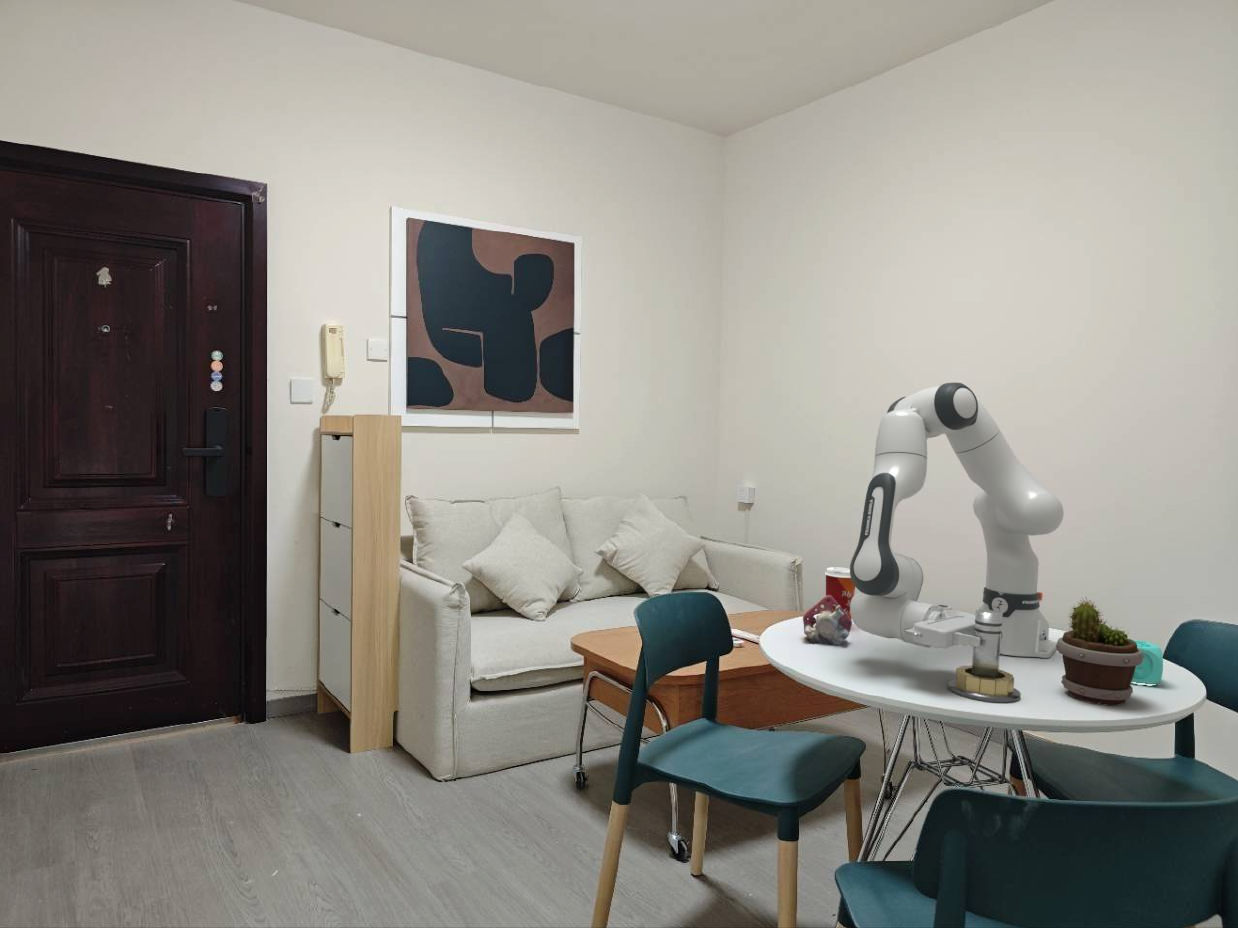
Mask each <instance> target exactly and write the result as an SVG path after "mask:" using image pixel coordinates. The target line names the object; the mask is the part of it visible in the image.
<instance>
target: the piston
mask: <svg viewBox="0 0 1238 928" xmlns="http://www.w3.org/2000/svg"><path fill="white" fill-rule="evenodd" d="M978 609H979V608H978ZM974 615H975V627H974V635H975V636H980V637H982V639H983V641H982V645H981V646H978V647H975V646H972V647H973V648H972V662H971V666H972V674H971V675H974V676H978V677H983V678H991V679H998V673H999V670H1000V657H1001V656H1000V655H1001V654H1000V644H1001V633H1002V616H1003V613H1001V612H998V611H993V610H983V609H979V610H977V609H975V614H974Z"/></svg>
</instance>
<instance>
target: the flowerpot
mask: <svg viewBox="0 0 1238 928" xmlns="http://www.w3.org/2000/svg"><path fill="white" fill-rule="evenodd" d="M1085 599H1086V600H1085ZM1085 599H1084V598H1083V597H1081V600H1080V601H1078V605H1077V606H1076V604H1074V606H1071V605H1070V606H1069V607H1070V608H1072V609H1070V610H1069V612H1070V613H1069V612H1068V616H1067V618H1068V620H1069V622H1068V624H1067V626H1069V628H1068V631H1065V632H1063V635H1062V637H1060V638H1058V639H1057V641H1056V643H1057V644H1056V647H1057V650H1056V651H1058V653H1060V654H1061V655H1062V660H1063V666H1064V672H1065V674H1063V675H1062V676H1061V679H1062V680H1061V681H1060V683H1061V684H1062V685H1063V687H1064V689H1066V690H1067V693H1068V695H1070V696H1071V697H1073V698H1075V699H1078V700H1080V701H1083V702H1088V703H1092V704H1100V705H1103V704H1107V705H1106V706H1114V705H1115V704H1120V705H1122V704H1125V703H1126V700H1128V699H1129V698H1131V695H1132V694H1133V693H1134V691H1133V685H1132V684H1131V681H1132V679H1133V676H1134V672H1135V668H1136V666H1137V665H1140V664H1141V663H1142V662H1143V658H1144V655H1143V652H1142V651H1141V650H1140V649H1139V648H1137V644H1136V642H1134V641H1133V640H1134V639H1132V640H1131V638H1129V637H1128V635H1129V633H1126V632H1127V631H1128V632H1129V630H1127V629H1126V630H1120V629H1121V628H1123V626H1121V627H1117V626H1116V625H1111V626H1110V627H1109V625H1107V623H1109V622H1107V620H1105V621H1103V617H1104V614H1102V613H1103V611H1104V610H1103V611H1101V612H1100V608H1098V606H1097V605H1095V602H1096V601H1093V602H1092V599H1091V600H1088V598H1087V597H1085ZM1096 608H1098V609H1096ZM1114 626H1115V627H1114ZM1112 627H1114V629H1113V628H1112ZM1124 702H1125V703H1124ZM1113 704H1114V705H1113Z"/></svg>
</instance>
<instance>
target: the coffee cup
mask: <svg viewBox="0 0 1238 928" xmlns="http://www.w3.org/2000/svg"><path fill="white" fill-rule="evenodd" d="M824 575H825V596H827V595H830V596H832V597H833V598H834V600H835V601H836V602H837V603H838V604H839V605H840V607H841V608H842V609H843V610H844V612H845V613H846V614H847V615H848V616H849V617H850V619H851V620H852V618H851V614H850V604H851V600H852V598H853V596H854V595H855V593H856V587H855V585H854V584H853V582H852V580H851V576H850V567H848V568H847V567H841V566H840V567H839V566H833V567H832V566H831V567H827V568H826V570H825V572H824ZM828 601H830V600H828ZM833 609H836V606H833ZM840 620H841V618H839V621H840Z"/></svg>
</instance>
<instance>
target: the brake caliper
mask: <svg viewBox="0 0 1238 928" xmlns="http://www.w3.org/2000/svg"><path fill="white" fill-rule="evenodd" d="M828 600H830V601H828ZM822 605H823V606H824V607H822ZM833 606H836V609H833ZM815 615H816V617H815ZM839 618H841V620H840V621H839ZM852 622H853V620H852V619H850V617H849V616H848V615H847V614H846V613H845V612H844V610H843V609H842V608H841V607H840V605H839V604H838V603H837V602H836V601H835V600H834V598H833V597H832V596H830V595H827V596H826V595H825V596H823V598H821V599H820V600H819V602H817V603H816V604H815V605H813V606H812V607H811V608H810V609H808V610H807V611H806V612H805V614H804V615H803V617H802V623H803V633H804V635H805V637H803V638H802V640H803V642H802V643H803V644H804V645H809V643H811V642H812V643H814V644H825V645H828V644H829V645H835V646H841V645H843V643H845V640H847V638H848V637H849V635H850V631H851V628H852V625H853V623H852Z"/></svg>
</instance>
